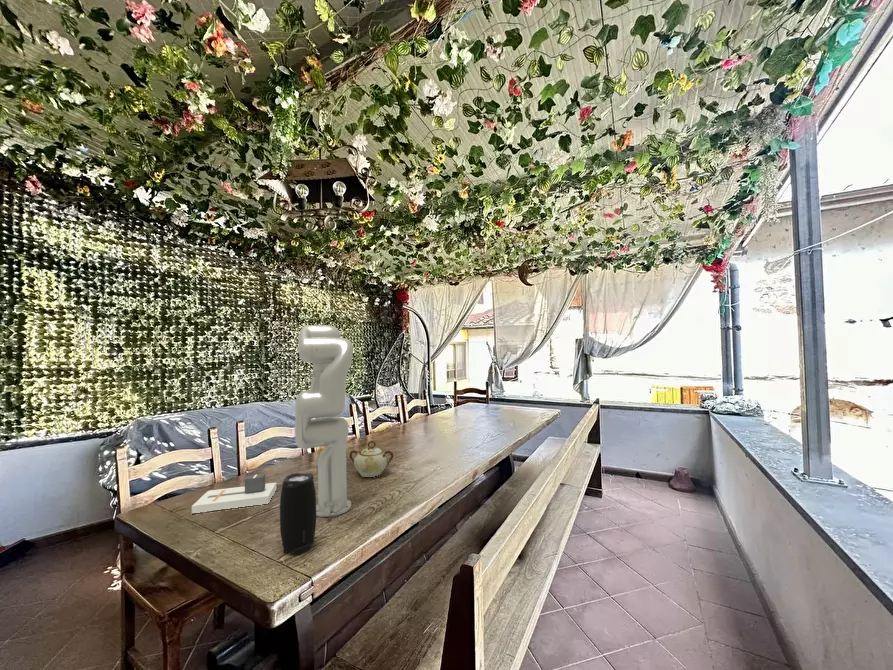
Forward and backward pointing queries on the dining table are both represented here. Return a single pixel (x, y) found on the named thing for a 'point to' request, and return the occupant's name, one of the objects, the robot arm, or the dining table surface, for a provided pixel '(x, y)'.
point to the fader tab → (254, 483)
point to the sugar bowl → (371, 460)
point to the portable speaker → (298, 512)
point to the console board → (233, 498)
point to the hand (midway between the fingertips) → (322, 411)
